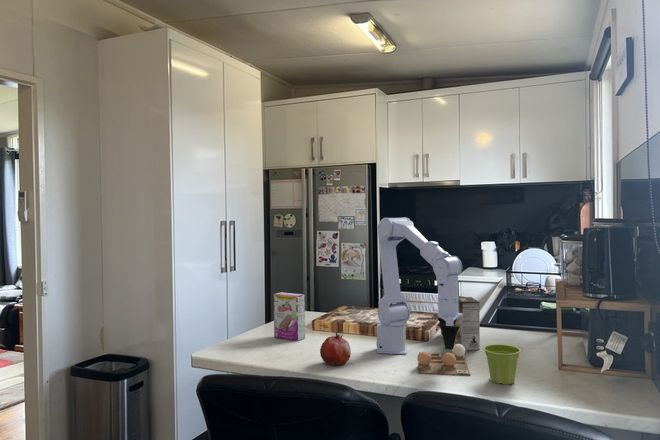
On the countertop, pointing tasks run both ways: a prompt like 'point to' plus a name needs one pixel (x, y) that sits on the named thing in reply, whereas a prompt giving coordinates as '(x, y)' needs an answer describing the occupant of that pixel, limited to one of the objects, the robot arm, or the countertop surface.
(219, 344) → the countertop surface
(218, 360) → the countertop surface
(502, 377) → the plant pot
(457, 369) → the board
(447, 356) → the terracotta ball
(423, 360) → the terracotta ball
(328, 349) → the fruit
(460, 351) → the cream ball
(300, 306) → the candy bar box
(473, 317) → the coffee box
